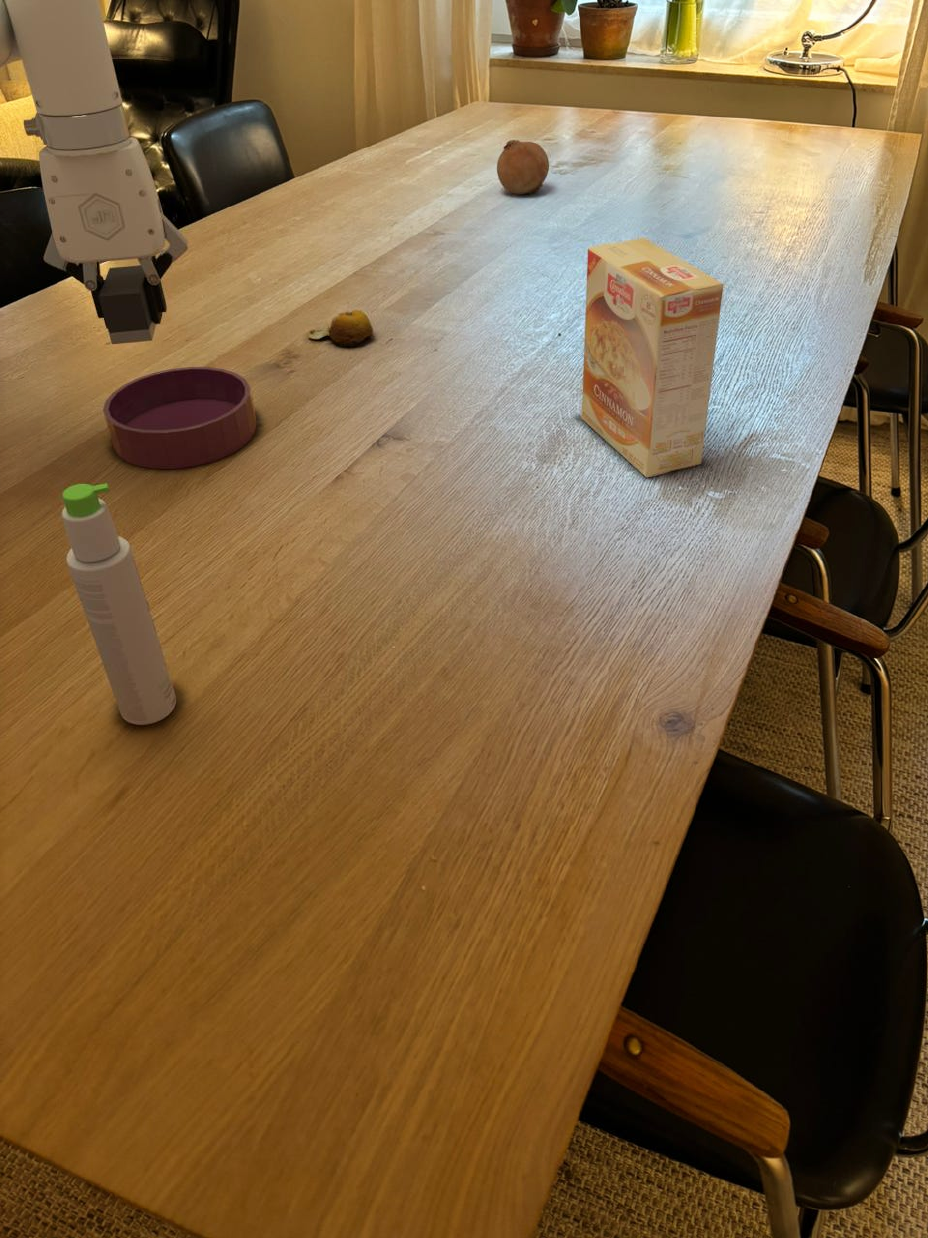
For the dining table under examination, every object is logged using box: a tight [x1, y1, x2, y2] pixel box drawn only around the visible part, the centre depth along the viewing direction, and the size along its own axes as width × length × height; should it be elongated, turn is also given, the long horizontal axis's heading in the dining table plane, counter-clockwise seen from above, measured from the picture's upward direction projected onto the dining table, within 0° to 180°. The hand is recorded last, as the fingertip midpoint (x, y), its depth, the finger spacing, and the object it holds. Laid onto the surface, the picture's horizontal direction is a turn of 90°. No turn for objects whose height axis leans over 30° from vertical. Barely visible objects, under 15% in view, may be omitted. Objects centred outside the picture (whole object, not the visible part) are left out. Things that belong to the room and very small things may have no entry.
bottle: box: [61, 482, 177, 726], centre depth 73 cm, size 4×4×20 cm
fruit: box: [307, 309, 374, 348], centre depth 133 cm, size 8×8×4 cm
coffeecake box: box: [580, 237, 725, 478], centre depth 103 cm, size 15×7×20 cm, turn 22°
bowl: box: [102, 366, 257, 470], centre depth 113 cm, size 16×16×4 cm
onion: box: [496, 139, 550, 196], centre depth 180 cm, size 10×9×10 cm
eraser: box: [99, 264, 157, 345], centre depth 101 cm, size 4×8×5 cm, turn 8°
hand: (134, 319), depth 103 cm, fingers closed on eraser, 4 cm apart
